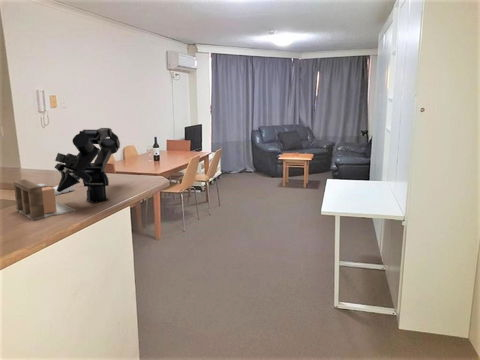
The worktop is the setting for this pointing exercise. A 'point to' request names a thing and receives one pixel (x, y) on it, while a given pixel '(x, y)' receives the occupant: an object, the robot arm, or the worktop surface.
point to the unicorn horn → (63, 190)
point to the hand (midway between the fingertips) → (58, 191)
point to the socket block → (34, 201)
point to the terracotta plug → (49, 199)
